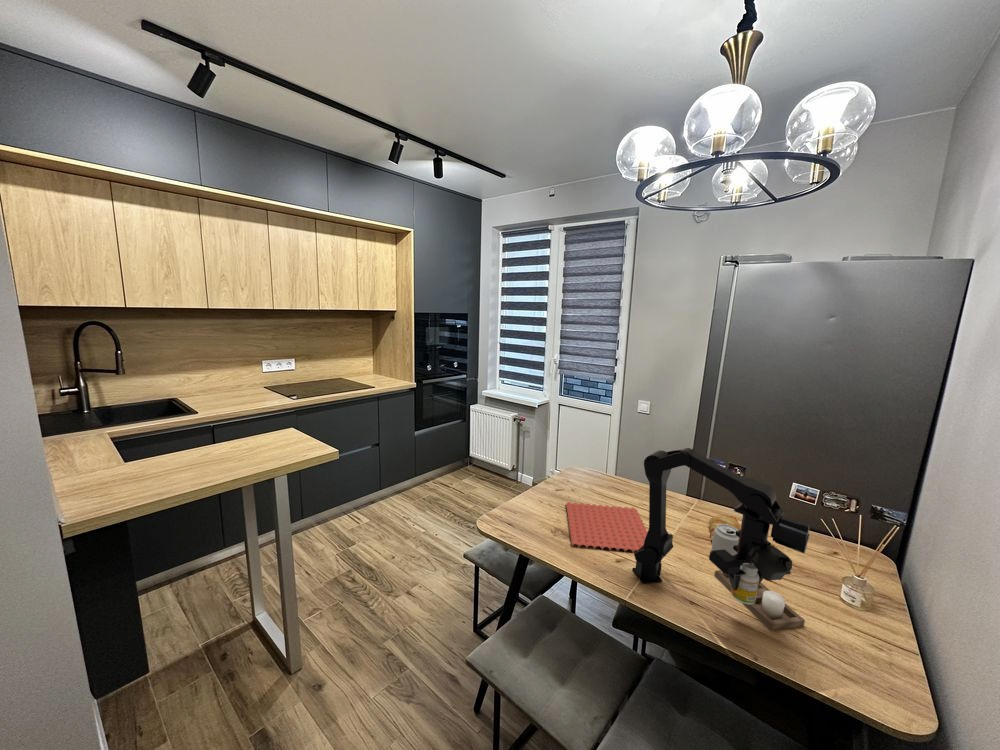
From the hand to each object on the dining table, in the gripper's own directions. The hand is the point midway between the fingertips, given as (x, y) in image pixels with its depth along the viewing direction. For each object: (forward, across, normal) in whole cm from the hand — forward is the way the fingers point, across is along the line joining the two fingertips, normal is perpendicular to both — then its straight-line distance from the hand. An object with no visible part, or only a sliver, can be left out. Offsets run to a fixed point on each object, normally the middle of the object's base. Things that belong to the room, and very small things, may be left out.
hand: (744, 588), depth 98 cm
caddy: (+11, +11, +6) cm, 17 cm away
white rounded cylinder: (+10, +11, +1) cm, 15 cm away
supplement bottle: (+3, 0, 0) cm, 3 cm away
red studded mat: (+12, -15, +46) cm, 50 cm away
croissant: (+11, +27, +38) cm, 48 cm away
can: (+11, +15, +23) cm, 30 cm away
